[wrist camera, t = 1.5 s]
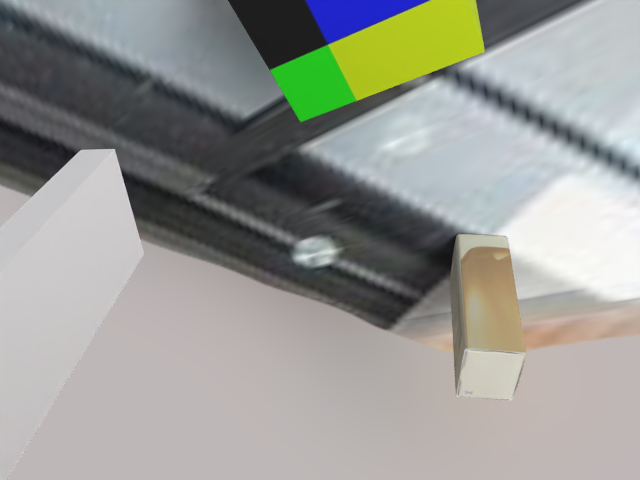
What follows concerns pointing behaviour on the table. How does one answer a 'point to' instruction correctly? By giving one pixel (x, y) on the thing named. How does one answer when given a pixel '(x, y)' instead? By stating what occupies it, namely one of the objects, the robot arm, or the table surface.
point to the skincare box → (485, 319)
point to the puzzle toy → (356, 45)
